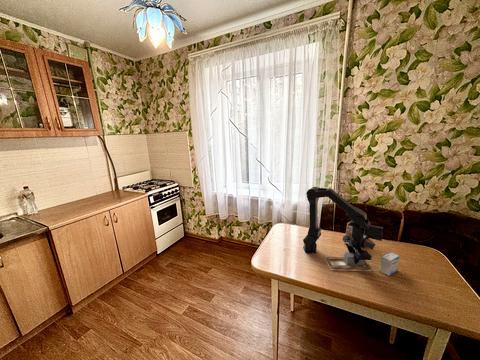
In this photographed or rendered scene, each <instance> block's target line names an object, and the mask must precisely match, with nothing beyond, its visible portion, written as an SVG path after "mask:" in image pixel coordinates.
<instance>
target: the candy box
mask: <svg viewBox="0 0 480 360" xmlns="http://www.w3.org/2000/svg"><path fill="white" fill-rule="evenodd" d="M349 222H350V221H348V222H347V223H346V230H345V235H344V236H349V234H351V231H352V226H348V223H349ZM347 241H349V240H346V242H344V243H343V244H344V245H345V246H346V244H347Z"/></svg>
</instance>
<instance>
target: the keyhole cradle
mask: <svg viewBox="0 0 480 360" xmlns="http://www.w3.org/2000/svg"><path fill="white" fill-rule="evenodd" d="M324 260H325V261H326V264H327V265H328V267H329V269H330V271H348V272H350V271H351V272H352V271H354V272H355V271H356V272H358V271H359V272H372V270H373V267H372V266H371V265H370V264H369V263H368V262H367V260H365V266H358V265H346V263H345V262H344V256H325V259H324Z"/></svg>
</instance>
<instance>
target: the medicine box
mask: <svg viewBox="0 0 480 360" xmlns="http://www.w3.org/2000/svg"><path fill="white" fill-rule="evenodd" d="M400 257H401V256H400V255H398V254H396V253H393V252H388V253H386V254H384V255H381V258H380V266H379V272H381V273H383V274H385V275H387V276H388V277H390V276H392V274H395V273H396V272H398V268H399V263H400V262H399V261H400Z"/></svg>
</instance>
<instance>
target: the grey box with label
mask: <svg viewBox="0 0 480 360" xmlns="http://www.w3.org/2000/svg"><path fill="white" fill-rule="evenodd" d="M343 257H344V262H345V263H346V265H358V266H365V261H366V260H360V261H359V262H358V264H355V262H354V258H353V254H352V253H350V252H349V251H348V252H347V251H346V252H344V254H343Z"/></svg>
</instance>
